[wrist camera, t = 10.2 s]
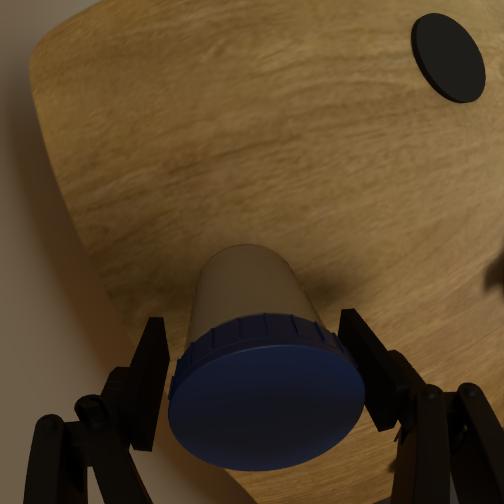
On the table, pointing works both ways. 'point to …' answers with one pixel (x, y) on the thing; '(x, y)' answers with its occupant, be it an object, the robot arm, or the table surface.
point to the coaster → (448, 58)
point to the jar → (246, 290)
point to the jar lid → (264, 393)
